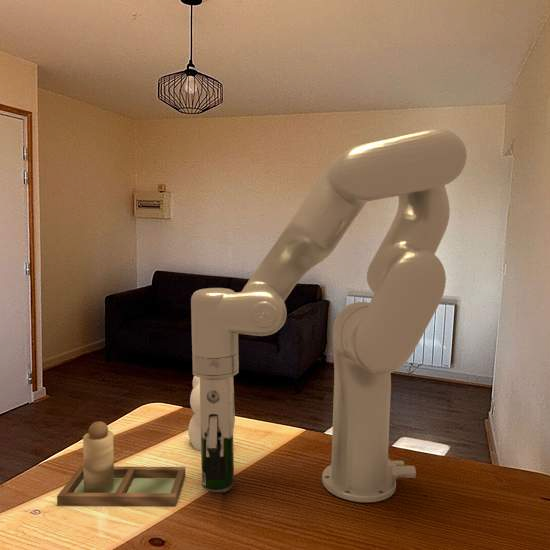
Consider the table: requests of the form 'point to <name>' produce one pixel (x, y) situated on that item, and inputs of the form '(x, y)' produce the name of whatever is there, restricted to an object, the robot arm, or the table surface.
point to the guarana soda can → (229, 480)
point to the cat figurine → (195, 415)
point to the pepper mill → (98, 459)
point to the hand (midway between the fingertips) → (217, 468)
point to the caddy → (138, 494)
